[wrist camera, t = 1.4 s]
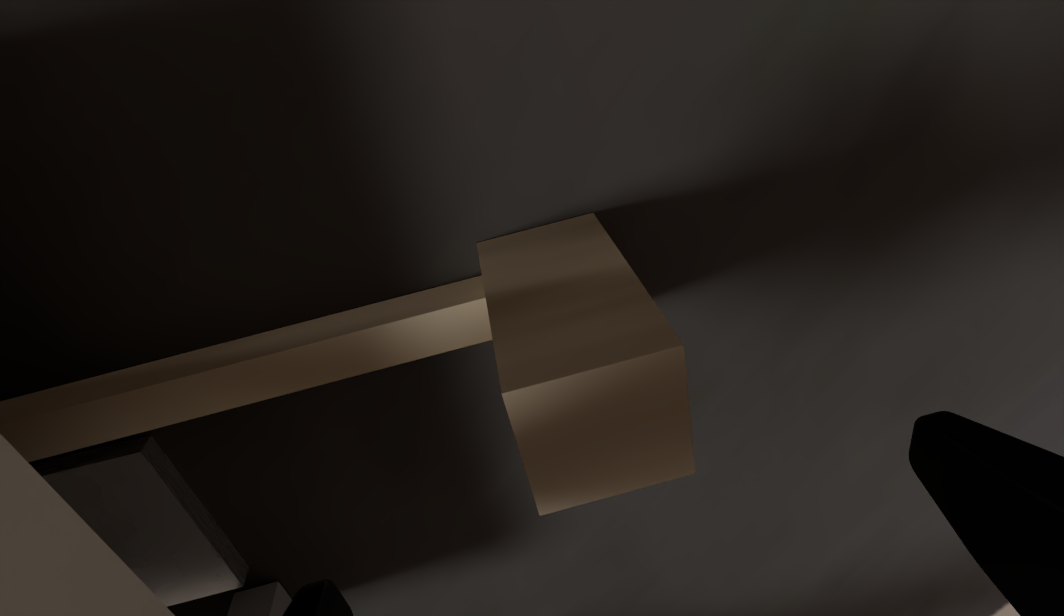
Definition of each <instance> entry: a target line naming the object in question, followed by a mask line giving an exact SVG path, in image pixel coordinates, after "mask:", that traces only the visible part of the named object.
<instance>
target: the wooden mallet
mask: <svg viewBox="0 0 1064 616" xmlns="http://www.w3.org/2000/svg"><path fill="white" fill-rule="evenodd" d="M476 244H477V250H478V256H479V262H480V268H481V274H482V275H481V276H477V277H473V278H469V279H466V280H462V281H458V282H454V283H450V284H447V285H443V286H439V287H435V288H431V289H428V290H424V291H420V292H416V293H412V294H408V295H405V296H401V297H397V298H393V299H389V300H386V301H382V302H378V303H374V304H370V305H366V306H363V307H359V308H355V309H351V310H347V311H344V312H340V313H336V314H332V315H328V316H324V317H321V318H317V319H313V320H309V321H305V322H302V323H298V324H294V325H290V326H286V327H282V328H279V329H275V330H271V331H267V332H263V333H260V334H256V335H252V336H248V337H244V338H240V339H237V340H233V341H229V342H225V343H221V344H218V345H214V346H210V347H206V348H202V349H198V350H195V351H191V352H187V353H183V354H179V355H176V356H172V357H168V358H164V359H160V360H156V361H153V362H149V363H145V364H141V365H137V366H134V367H130V368H126V369H122V370H118V371H114V372H111V373H107V374H103V375H99V376H95V377H92V378H88V379H84V380H80V381H76V382H72V383H69V384H65V385H61V386H57V387H53V388H50V389H46V390H42V391H38V392H34V393H30V394H27V395H23V396H19V397H15V398H11V399H8V400H4V401H0V434H1V435H2V436H3V437H4V438H5V439H6V440H7V441H8V442H9V443H10V444H11V445H12V446H13V447H14V448H15V449H16V451H17V452H18V453H19V454H20V455H21V456H22V457H23V458H24V459H25V460H26V461H27V462H32V461H36V460H39V459H43V458H47V457H51V456H55V455H58V454H62V453H66V452H70V451H73V450H77V449H81V448H85V447H89V446H92V445H96V444H100V443H104V442H107V441H111V440H115V439H119V438H123V437H126V436H130V435H134V434H138V433H141V432H145V431H149V430H153V429H157V428H160V427H164V426H168V425H172V424H175V423H179V422H183V421H187V420H191V419H194V418H198V417H202V416H206V415H209V414H213V413H217V412H221V411H225V410H228V409H232V408H236V407H240V406H243V405H247V404H251V403H255V402H259V401H262V400H266V399H270V398H274V397H277V396H281V395H285V394H289V393H293V392H296V391H300V390H304V389H308V388H311V387H315V386H319V385H323V384H327V383H330V382H334V381H338V380H342V379H345V378H349V377H353V376H357V375H361V374H364V373H368V372H372V371H376V370H379V369H383V368H387V367H391V366H395V365H398V364H402V363H406V362H410V361H414V360H417V359H421V358H425V357H429V356H432V355H436V354H440V353H444V352H448V351H451V350H455V349H459V348H463V347H466V346H470V345H474V344H478V343H482V342H485V341H489V340H493V345H494V351H495V357H496V363H497V369H498V375H499V381H500V387H501V393H502V396H503V400H504V403H505V406H506V409H507V412H508V416H509V419H510V422H511V425H512V429H513V432H514V435H515V438H516V441H517V445H518V448H519V451H520V454H521V457H522V461H523V464H524V467H525V470H526V473H527V477H528V480H529V483H530V486H531V490H532V493H533V496H534V499H535V502H536V506H537V509H538V512H539V515H540V516H541V515H545V514H549V513H552V512H556V511H560V510H563V509H567V508H571V507H574V506H578V505H582V504H585V503H589V502H593V501H596V500H600V499H604V498H607V497H611V496H615V495H618V494H622V493H626V492H629V491H633V490H637V489H640V488H644V487H648V486H651V485H655V484H659V483H662V482H666V481H670V480H674V479H677V478H681V477H685V476H688V475H692V474H695V463H694V452H693V440H692V429H691V418H690V406H689V395H688V384H687V372H686V361H685V349H684V344H683V343H682V341H681V340H680V338H679V337H678V335H677V334H676V332H675V331H674V330H673V328H672V327H671V325H670V324H669V322H668V321H667V319H666V318H665V316H664V315H663V314H662V312H661V311H660V309H659V308H658V306H657V305H656V303H655V302H654V300H653V299H652V298H651V296H650V295H649V293H648V292H647V290H646V289H645V287H644V286H643V284H642V283H641V282H640V280H639V279H638V277H637V276H636V274H635V273H634V271H633V270H632V268H631V267H630V266H629V264H628V263H627V261H626V260H625V258H624V257H623V255H622V254H621V252H620V251H619V250H618V248H617V247H616V245H615V244H614V242H613V241H612V239H611V238H610V236H609V235H608V234H607V232H606V231H605V229H604V228H603V226H602V225H601V223H600V222H599V220H598V219H597V218H596V216H595V215H594V213H590V214H586V215H582V216H578V217H574V218H571V219H567V220H563V221H559V222H555V223H551V224H548V225H544V226H540V227H536V228H532V229H528V230H524V231H521V232H517V233H513V234H509V235H505V236H501V237H498V238H494V239H490V240H486V241H482V242H478V243H476Z"/></svg>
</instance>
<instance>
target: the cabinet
mask: <svg viewBox="0 0 1064 616" xmlns="http://www.w3.org/2000/svg"><path fill="white" fill-rule="evenodd" d="M291 601H292V599H291V598H290V596H289V595H288V594H287V592H286V591H285V590H284V588H283V587H282V586H281V584H280V583H279V582H278V581H277V582H274V583H270V584H266V585H263V586H259V587H255V588H252V589H248V590H244V591H241V592H237V593H234V595H233V599H232V602H231V605H230V608H229V611H228V614H227V616H282V615H283V614H284V612H285V610H286V609H287V607H288V606H289V604H290V603H291ZM0 616H175V615H174V614H173V613H172V612H171V611H170V610H169V609H168V608H167V607H166V606H165V605H164V604H163V603H162V602H161V601H160V600H159V599H158V598H157V597H156V595H155V594H154V593H153V592H152V591H151V590H150V589H149V588H148V587H147V586H146V585H145V584H144V583H143V582H142V581H141V580H140V579H139V578H138V577H137V576H136V575H135V574H134V573H133V571H132V570H131V569H130V568H129V567H128V566H127V565H126V564H125V563H124V562H123V561H122V560H121V559H120V558H119V557H118V556H117V555H116V554H115V553H114V552H113V551H112V550H111V549H110V548H109V546H108V545H107V544H106V543H105V542H104V541H103V540H102V539H101V538H100V537H99V536H98V535H97V534H96V533H95V532H94V531H93V530H92V529H91V528H90V527H89V526H88V525H87V524H86V522H85V521H84V520H83V519H82V518H81V517H80V516H79V515H78V514H77V513H76V512H75V511H74V510H73V509H72V508H71V507H70V506H69V505H68V504H67V503H66V502H65V501H64V500H63V498H62V497H61V496H60V495H59V494H58V493H57V492H56V491H55V490H54V489H53V488H52V487H51V486H50V485H49V484H48V483H47V482H46V481H45V480H44V479H43V478H42V477H41V476H40V475H39V473H38V472H37V471H36V470H35V469H34V468H33V467H32V466H31V465H30V464H29V463H28V462H27V461H26V460H25V459H24V458H23V457H22V456H21V455H20V454H19V453H18V452H17V451H16V449H15V448H14V447H13V446H12V445H11V444H10V443H9V442H8V441H7V440H6V439H5V438H4V437H3V436H2V435H1V434H0Z"/></svg>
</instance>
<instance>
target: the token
mask: <svg viewBox="0 0 1064 616" xmlns="http://www.w3.org/2000/svg"><path fill="white" fill-rule="evenodd" d="M31 466H32V467H33V468H34V469H35V470H36V471H37V472H38V473H39V475H40V476H41V477H42V478H43V479H44V480H45V481H46V482H47V483H48V484H49V485H50V486H51V487H52V488H53V489H54V490H55V491H56V492H57V493H58V494H59V495H60V496H61V497H62V498H63V500H64V501H65V502H66V503H67V504H68V505H69V506H70V507H71V508H72V509H73V510H74V511H75V512H76V513H77V514H78V515H79V516H80V517H81V518H82V519H83V520H84V521H85V522H86V524H87V525H88V526H89V527H90V528H91V529H92V530H93V531H94V532H95V533H96V534H97V535H98V536H99V537H100V538H101V539H102V540H103V541H104V542H105V543H106V544H107V545H108V546H109V548H110V549H111V550H112V551H113V552H114V553H115V554H116V555H117V556H118V557H119V558H120V559H121V560H122V561H123V562H124V563H125V564H126V565H127V566H128V567H129V568H130V569H131V570H132V571H133V573H134V574H135V575H136V576H137V577H138V578H139V579H140V580H141V581H142V582H143V583H144V584H145V585H146V586H147V587H148V588H149V589H150V590H151V591H152V592H153V593H154V594H155V595H156V597H157V598H158V599H159V600H160V601H161V602H162V603H163V604H164V605H165V606H166V607H168V606H171V605H175V604H179V603H183V602H187V601H191V600H194V599H198V598H202V597H206V596H210V595H214V594H217V593H221V592H225V591H229V590H233V589H237V588H240V587H243V586H244V582H245V579H246V576H247V573H248V570H249V567H248V565H247V564H246V563H245V561H244V560H243V558H242V557H241V556H240V554H239V553H238V552H237V550H236V549H235V548H234V546H233V545H232V544H231V542H230V541H229V540H228V538H227V537H226V535H225V534H224V533H223V531H222V530H221V529H220V527H219V526H218V525H217V523H216V522H215V521H214V519H213V518H212V517H211V515H210V514H209V512H208V511H207V510H206V508H205V507H204V506H203V504H202V503H201V502H200V500H199V499H198V498H197V496H196V495H195V494H194V492H193V491H192V489H191V488H190V487H189V485H188V484H187V483H186V481H185V480H184V479H183V477H182V476H181V475H180V473H179V472H178V471H177V469H176V468H175V466H174V465H173V464H172V462H171V461H170V460H169V458H168V457H167V456H166V454H165V453H164V452H163V450H162V449H161V448H160V446H159V445H158V443H157V442H156V441H155V439H154V438H153V437H152V435H149V436H145V437H141V438H137V439H133V440H129V441H124V442H120V443H116V444H112V445H108V446H104V447H100V448H96V449H92V450H88V451H84V452H80V453H76V454H72V455H68V456H64V457H60V458H56V459H52V460H48V461H44V462H40V463H36V464H32V465H31Z"/></svg>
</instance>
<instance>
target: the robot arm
mask: <svg viewBox="0 0 1064 616" xmlns="http://www.w3.org/2000/svg"><path fill="white" fill-rule="evenodd" d="M909 461H910V464H911V466H912V469H913V470H914V472H915V474H916V475H917V477H918V478H919V479H920V481H921V482H922V484H923V485H924V487H925V488H926V490H927V491H928V493H929V494H930V496H931V497H932V498H933V500H934V501H935V503H936V504H937V506H938V507H939V509H940V510H941V512H942V513H943V514H944V516H945V517H946V519H947V520H948V522H949V523H950V525H951V526H952V528H953V529H954V531H955V532H956V533H957V535H958V536H959V538H960V539H961V541H962V542H963V544H964V545H965V547H966V548H967V549H968V551H969V552H970V554H971V555H972V556H973V558H974V559H975V560H976V562H977V563H978V564H979V566H980V567H981V568H982V569H983V571H984V572H985V573H986V574H987V576H988V577H989V578H990V579H991V581H992V582H993V583H994V584H995V585H996V587H997V588H998V589H999V590H1000V592H1001V593H1002V594H1003V595H1004V596H1005V598H1006V599H1007V600H1008V601H1009V602H1010V604H1011V605H1012V606H1013V607H1014V608H1015V610H1016V611H1017V612H1018V613H1019V614H1020V616H1064V457H1063V456H1060V455H1058V454H1055V453H1053V452H1050V451H1048V450H1045V449H1043V448H1040V447H1038V446H1035V445H1032V444H1030V443H1027V442H1025V441H1022V440H1020V439H1017V438H1015V437H1012V436H1010V435H1007V434H1005V433H1002V432H1000V431H997V430H995V429H992V428H990V427H987V426H985V425H982V424H980V423H977V422H975V421H972V420H970V419H967V418H965V417H962V416H960V415H957V414H955V413H952V412H948V411H939V412H935V413H932V414H928V415H924V416H921V417H919V418H918V419H917V420H916V421H915V423H914V428H913V433H912V438H911V444H910V449H909ZM282 616H353V613H352V610H351V608H350V607H349V605H348V603H347V602H346V600H345V599H344V597H343V596H342V594H341V593H340V591H339V590H338V588H337V587H336V585H335V584H334V583H333V582H332V581H331V580H328V579H325V580H321V581H318V582H314V583H310V584H307V585H305V586H303V587H302V588H300V590H299V591H298V592H297V593H296V595H295V596H294V598H293V599H292V601H291V603H290V604H289V606H288V607H287V609H286V610H285V612H284V614H283V615H282Z"/></svg>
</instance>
